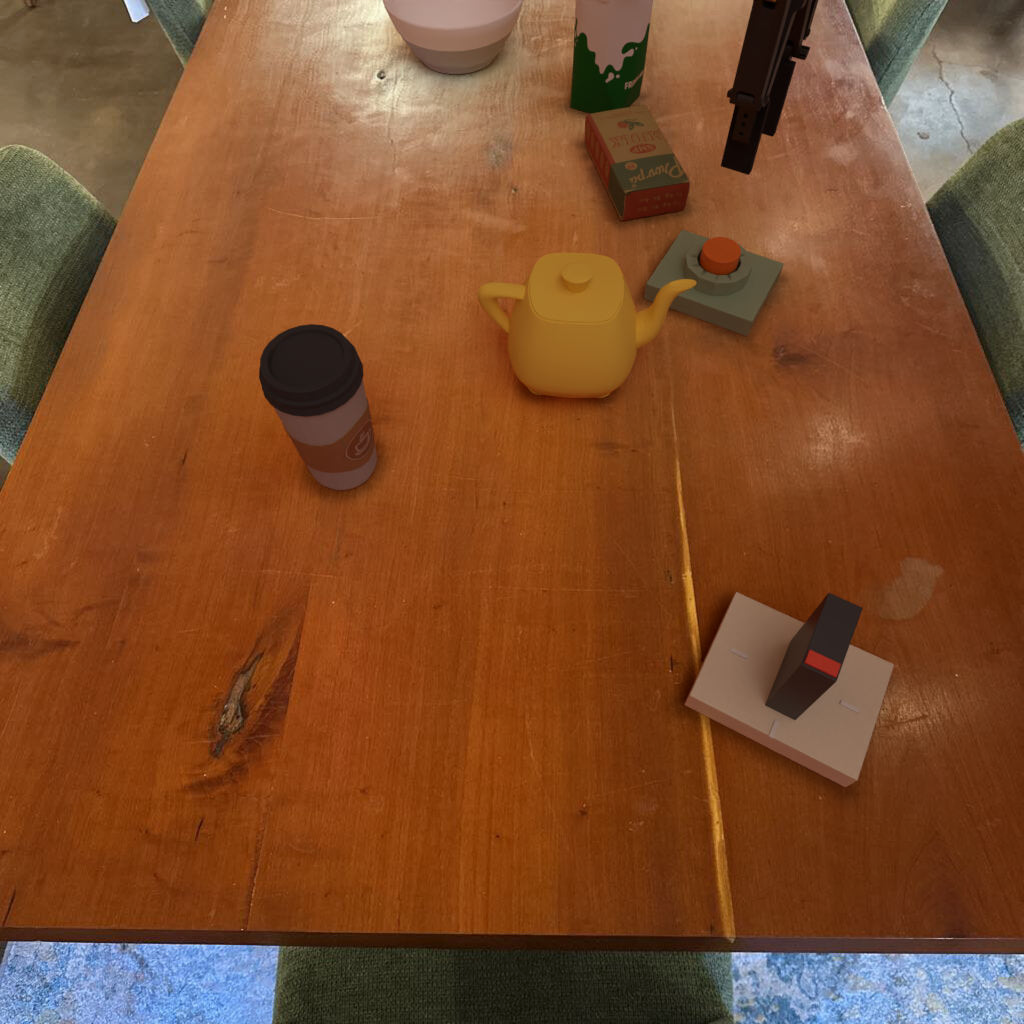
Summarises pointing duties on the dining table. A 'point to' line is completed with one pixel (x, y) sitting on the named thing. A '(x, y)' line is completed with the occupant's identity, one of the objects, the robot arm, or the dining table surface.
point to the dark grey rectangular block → (814, 656)
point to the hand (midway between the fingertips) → (748, 148)
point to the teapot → (576, 324)
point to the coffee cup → (321, 402)
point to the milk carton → (609, 53)
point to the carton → (635, 163)
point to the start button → (720, 256)
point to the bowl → (454, 30)
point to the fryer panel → (750, 677)
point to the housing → (716, 285)
